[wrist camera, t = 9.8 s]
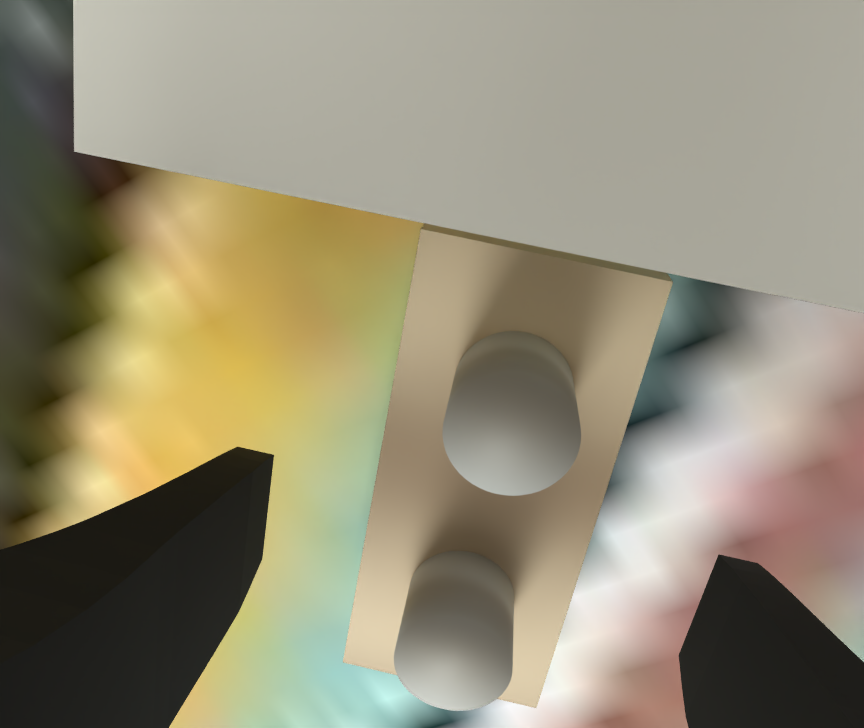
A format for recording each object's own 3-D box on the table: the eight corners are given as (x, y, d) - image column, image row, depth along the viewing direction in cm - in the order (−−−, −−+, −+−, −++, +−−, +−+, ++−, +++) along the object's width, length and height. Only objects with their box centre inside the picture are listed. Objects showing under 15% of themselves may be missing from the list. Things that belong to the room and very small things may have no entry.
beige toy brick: (534, 608, 18) (536, 787, 13) (371, 570, 18) (319, 735, 13) (644, 242, 14) (698, 317, 10) (441, 199, 14) (402, 253, 10)
